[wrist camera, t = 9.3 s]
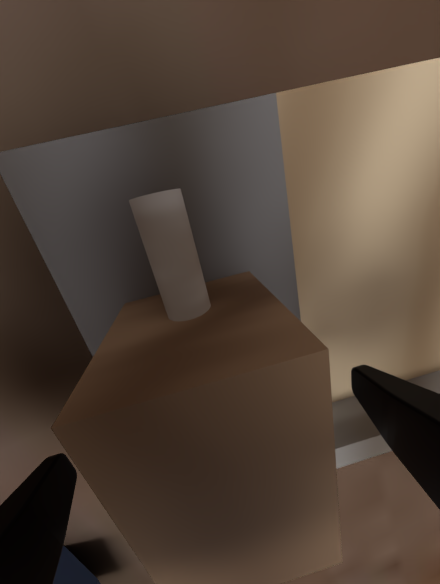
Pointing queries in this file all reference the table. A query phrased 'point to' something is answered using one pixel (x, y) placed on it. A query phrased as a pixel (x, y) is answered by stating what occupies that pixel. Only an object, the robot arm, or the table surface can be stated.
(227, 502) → the brown block with peg
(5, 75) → the table surface
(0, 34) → the table surface
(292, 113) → the board
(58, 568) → the glue gun
